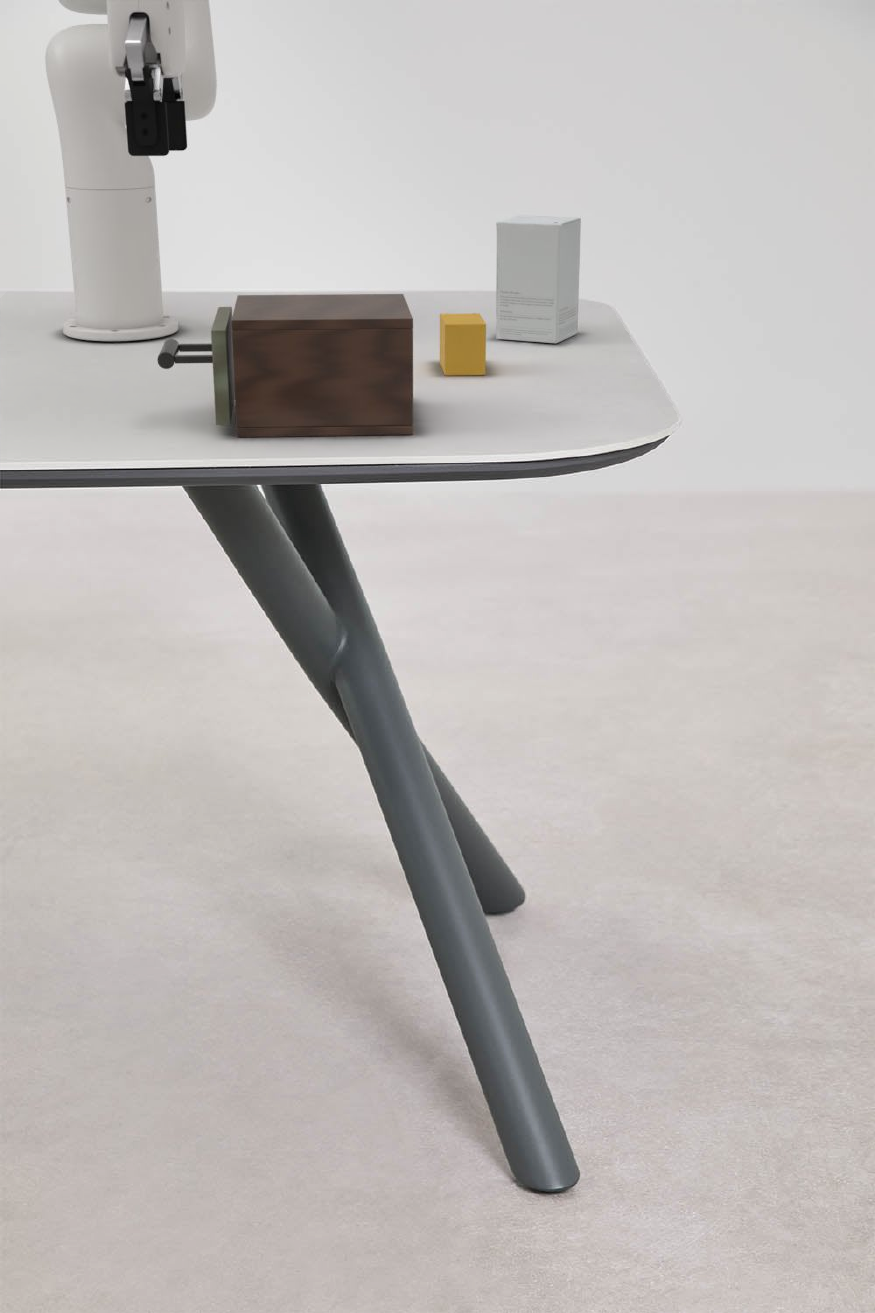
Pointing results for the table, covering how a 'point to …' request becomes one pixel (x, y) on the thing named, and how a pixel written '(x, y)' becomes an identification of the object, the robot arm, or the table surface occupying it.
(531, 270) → the white packaging box
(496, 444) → the table surface
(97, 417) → the table surface
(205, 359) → the drawer
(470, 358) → the yellow box
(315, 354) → the cabinet
